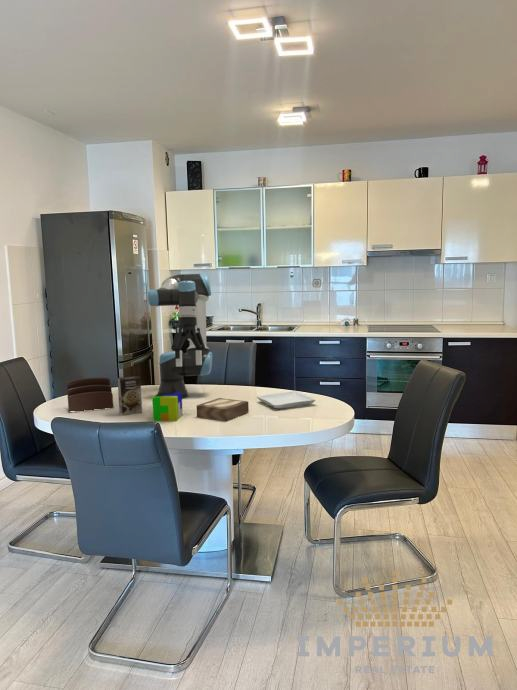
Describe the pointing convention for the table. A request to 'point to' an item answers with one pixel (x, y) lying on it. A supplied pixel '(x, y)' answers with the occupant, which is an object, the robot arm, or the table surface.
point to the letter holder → (89, 394)
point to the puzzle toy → (167, 406)
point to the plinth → (222, 409)
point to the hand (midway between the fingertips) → (189, 365)
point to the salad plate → (286, 399)
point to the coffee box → (129, 395)
